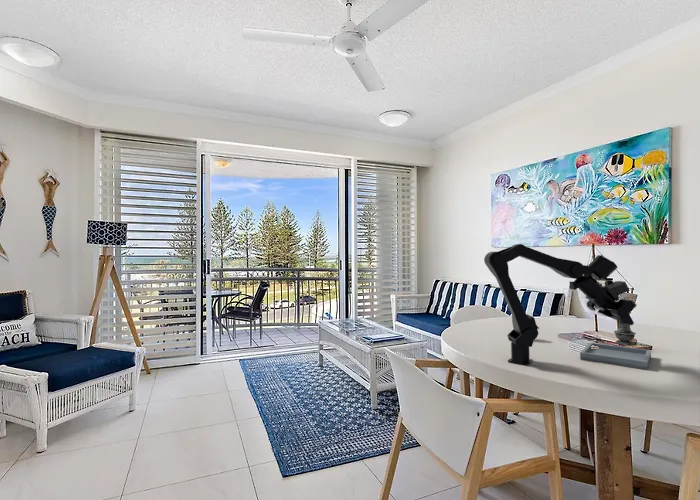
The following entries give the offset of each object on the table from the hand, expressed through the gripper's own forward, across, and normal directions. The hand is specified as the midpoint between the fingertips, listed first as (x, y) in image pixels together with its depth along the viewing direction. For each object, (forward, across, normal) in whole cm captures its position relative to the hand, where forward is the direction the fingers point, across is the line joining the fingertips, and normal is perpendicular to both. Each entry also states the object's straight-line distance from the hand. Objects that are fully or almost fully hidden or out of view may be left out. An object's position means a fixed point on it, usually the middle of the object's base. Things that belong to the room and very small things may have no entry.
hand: (628, 323), depth 122 cm
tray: (+8, +5, +10) cm, 14 cm away
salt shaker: (+4, 0, +6) cm, 7 cm away
